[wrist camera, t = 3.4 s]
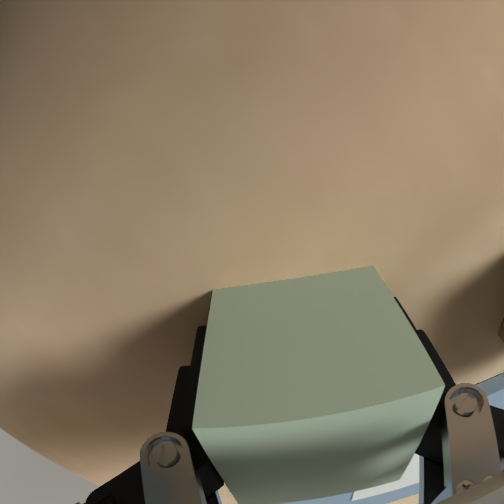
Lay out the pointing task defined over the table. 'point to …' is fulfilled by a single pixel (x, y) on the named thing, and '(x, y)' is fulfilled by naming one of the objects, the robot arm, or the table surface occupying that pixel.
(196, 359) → the robot arm
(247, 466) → the sage block
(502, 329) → the walnut block
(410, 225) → the table surface
